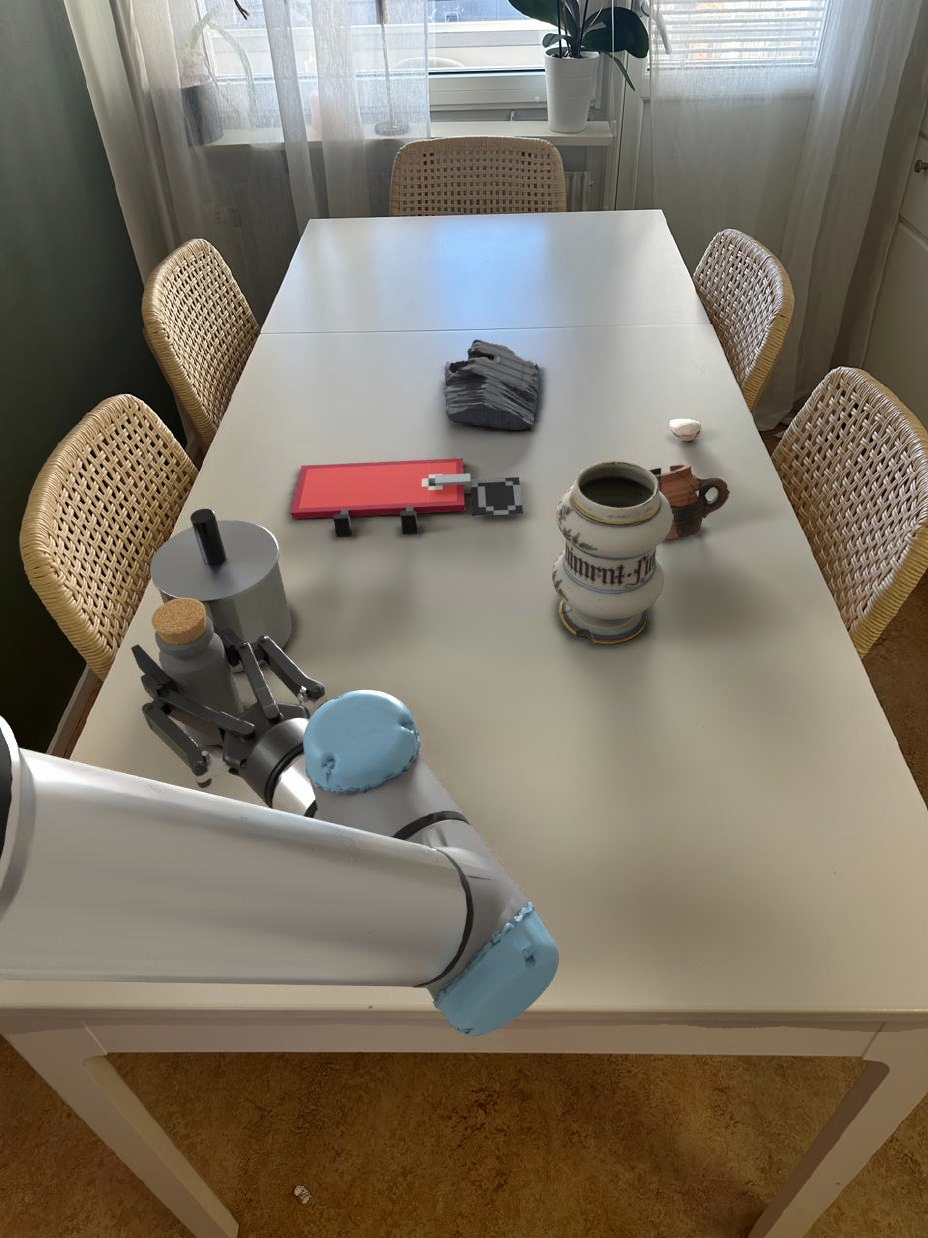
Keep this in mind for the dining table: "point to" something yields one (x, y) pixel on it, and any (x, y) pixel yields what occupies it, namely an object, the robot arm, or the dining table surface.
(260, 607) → the pot
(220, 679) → the bottle
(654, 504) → the apothecary jar
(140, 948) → the robot arm
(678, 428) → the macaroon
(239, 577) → the pot lid
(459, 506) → the red board with handle
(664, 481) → the pottery mug
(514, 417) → the dark slate chunk
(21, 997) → the dining table surface
